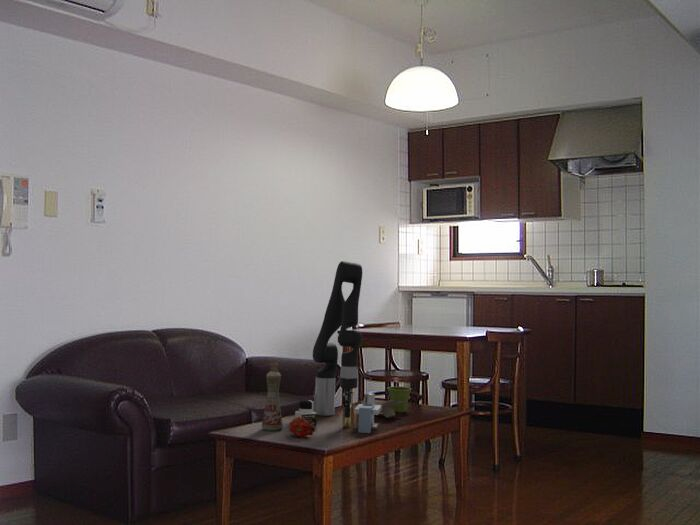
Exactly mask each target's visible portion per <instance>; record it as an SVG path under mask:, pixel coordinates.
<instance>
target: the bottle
mask: <svg viewBox="0 0 700 525" xmlns="http://www.w3.org/2000/svg"><path fill="white" fill-rule="evenodd" d="M269 368H270V371H268V372H267V373H266V376H265V377H266V387H267V394H266V399H265V406H264V410H263V416H262V417H263V418H262V421H261V422H262V423H261V428H262V429H263V431H271V432H274V431H281V430H283V427H284V424H283V418H282V410H281V402H280V395H279V394H280V393H279V391H280V384H281V379H282V374H281V373H280V372H279V363H278V362H275V361H274V362H270V364H269Z"/></svg>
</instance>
